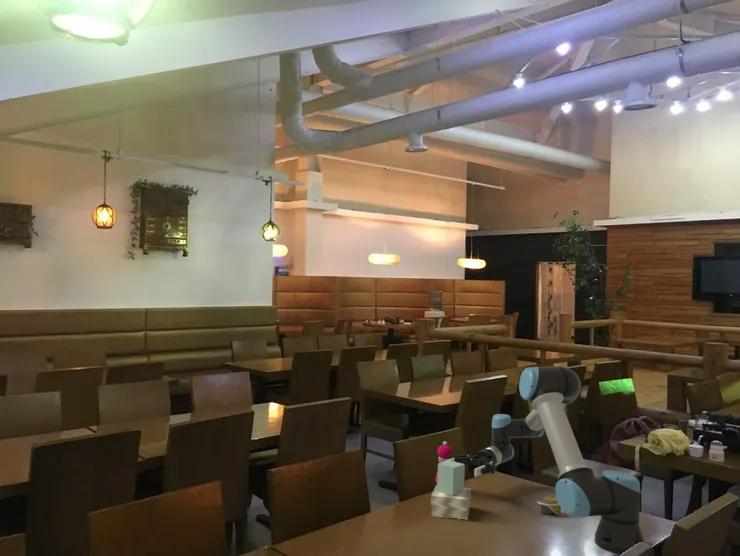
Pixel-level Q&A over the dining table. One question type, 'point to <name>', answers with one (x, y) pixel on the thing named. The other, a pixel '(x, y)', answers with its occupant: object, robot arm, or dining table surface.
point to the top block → (451, 500)
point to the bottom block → (450, 513)
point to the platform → (550, 506)
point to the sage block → (450, 477)
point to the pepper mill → (443, 454)
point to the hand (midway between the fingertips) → (459, 468)
